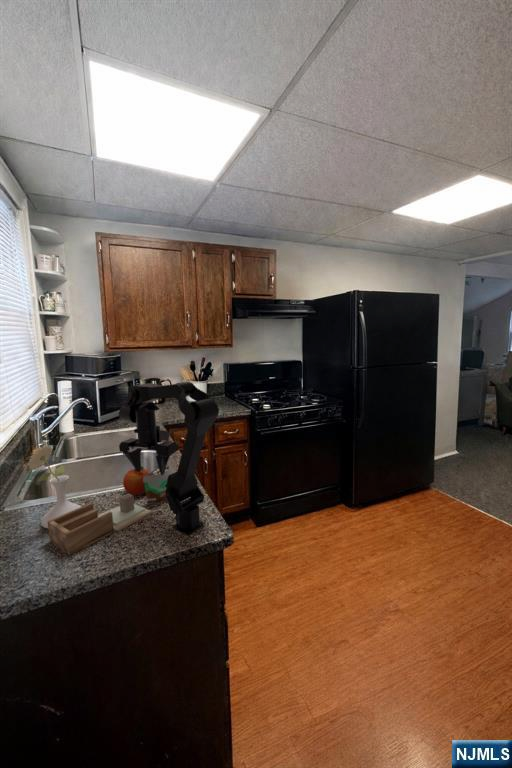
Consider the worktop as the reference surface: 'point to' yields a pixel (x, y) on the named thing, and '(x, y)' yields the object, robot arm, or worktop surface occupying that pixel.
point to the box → (79, 528)
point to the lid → (125, 509)
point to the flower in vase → (59, 485)
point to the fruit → (135, 481)
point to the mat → (130, 521)
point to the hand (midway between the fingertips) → (150, 473)
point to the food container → (156, 485)
